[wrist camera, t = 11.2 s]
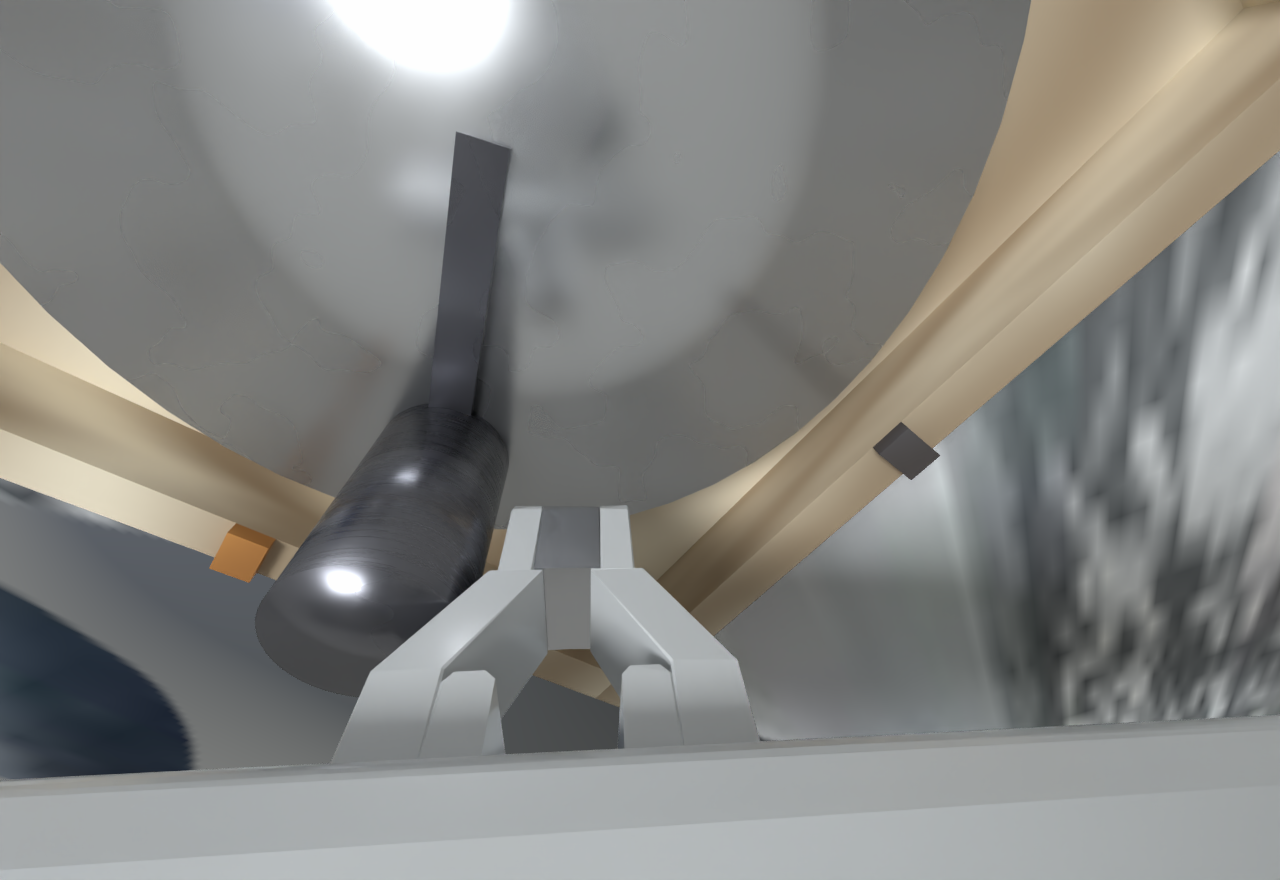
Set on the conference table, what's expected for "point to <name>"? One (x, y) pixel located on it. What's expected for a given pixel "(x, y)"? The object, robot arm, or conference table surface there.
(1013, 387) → the conference table surface
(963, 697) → the conference table surface
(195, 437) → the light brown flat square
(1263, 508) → the conference table surface
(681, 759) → the robot arm
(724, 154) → the dial
